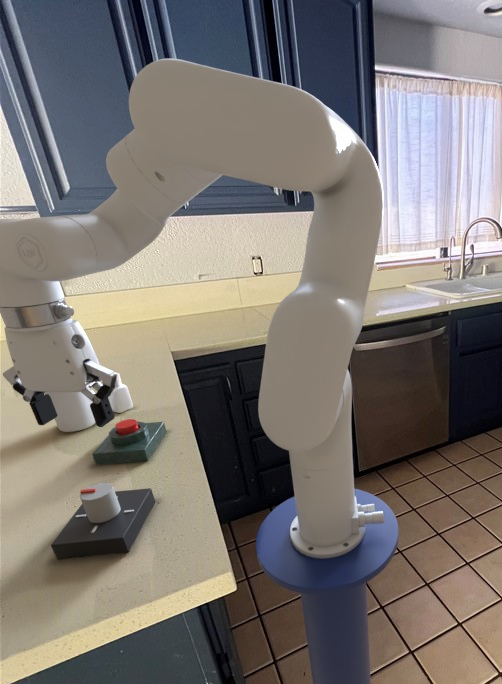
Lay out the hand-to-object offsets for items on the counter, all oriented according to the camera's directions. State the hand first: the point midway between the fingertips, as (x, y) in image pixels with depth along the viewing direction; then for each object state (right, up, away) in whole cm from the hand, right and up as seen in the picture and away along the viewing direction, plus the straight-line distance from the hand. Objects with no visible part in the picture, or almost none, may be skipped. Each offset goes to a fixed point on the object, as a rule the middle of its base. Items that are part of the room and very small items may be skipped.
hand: (77, 421), depth 67 cm
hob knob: (+4, -15, +1) cm, 15 cm away
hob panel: (+4, -17, +2) cm, 18 cm away
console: (-6, -7, +25) cm, 26 cm away
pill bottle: (-24, -3, +35) cm, 42 cm away
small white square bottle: (-18, +1, +42) cm, 45 cm away
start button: (-6, -3, +23) cm, 24 cm away
